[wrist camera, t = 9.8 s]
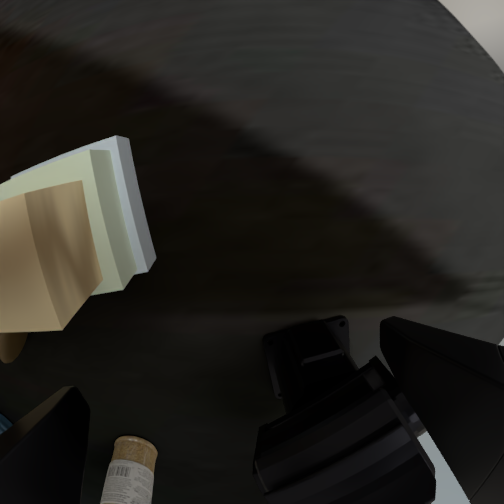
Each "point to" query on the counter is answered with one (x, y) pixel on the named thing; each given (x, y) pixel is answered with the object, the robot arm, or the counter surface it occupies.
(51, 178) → the sage block
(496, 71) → the counter surface
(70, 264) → the maple cube
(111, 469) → the sprinkles bottle
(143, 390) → the counter surface
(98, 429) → the counter surface
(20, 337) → the kendama
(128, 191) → the base block
